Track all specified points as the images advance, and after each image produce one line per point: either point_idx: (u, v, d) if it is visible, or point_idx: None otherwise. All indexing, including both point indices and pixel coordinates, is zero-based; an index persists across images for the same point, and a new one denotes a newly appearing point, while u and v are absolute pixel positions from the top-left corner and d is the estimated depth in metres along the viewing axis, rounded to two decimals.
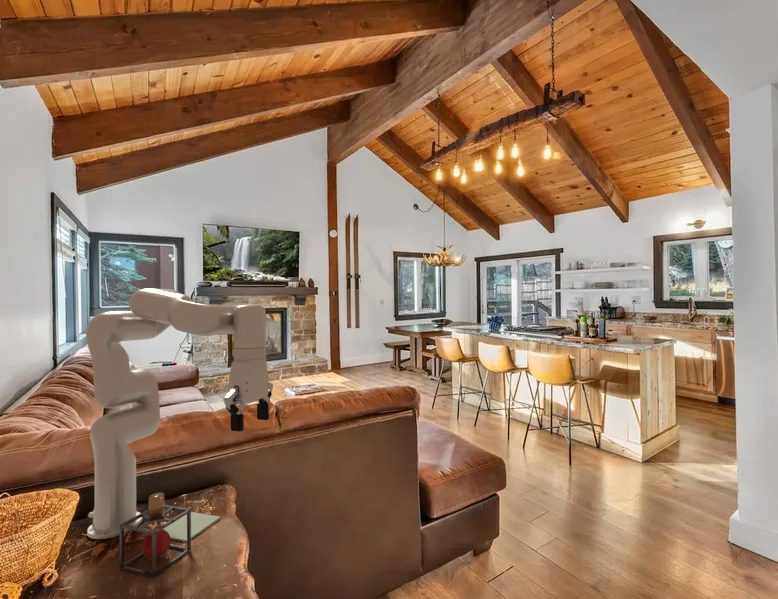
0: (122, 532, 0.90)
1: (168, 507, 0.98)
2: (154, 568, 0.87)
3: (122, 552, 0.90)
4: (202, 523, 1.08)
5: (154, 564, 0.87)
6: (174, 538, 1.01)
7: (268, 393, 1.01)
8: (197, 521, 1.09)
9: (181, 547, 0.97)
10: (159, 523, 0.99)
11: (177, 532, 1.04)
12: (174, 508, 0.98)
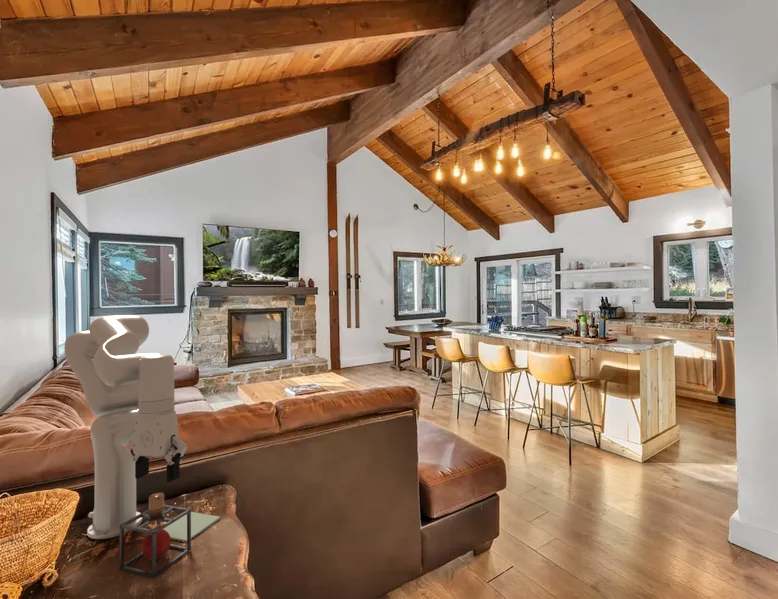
0: (122, 532, 0.90)
1: (168, 507, 0.98)
2: (154, 568, 0.87)
3: (122, 552, 0.90)
4: (202, 523, 1.08)
5: (154, 564, 0.87)
6: (174, 538, 1.01)
7: None
8: (197, 521, 1.09)
9: (181, 547, 0.97)
10: (159, 523, 0.99)
11: (177, 532, 1.04)
12: (174, 508, 0.98)
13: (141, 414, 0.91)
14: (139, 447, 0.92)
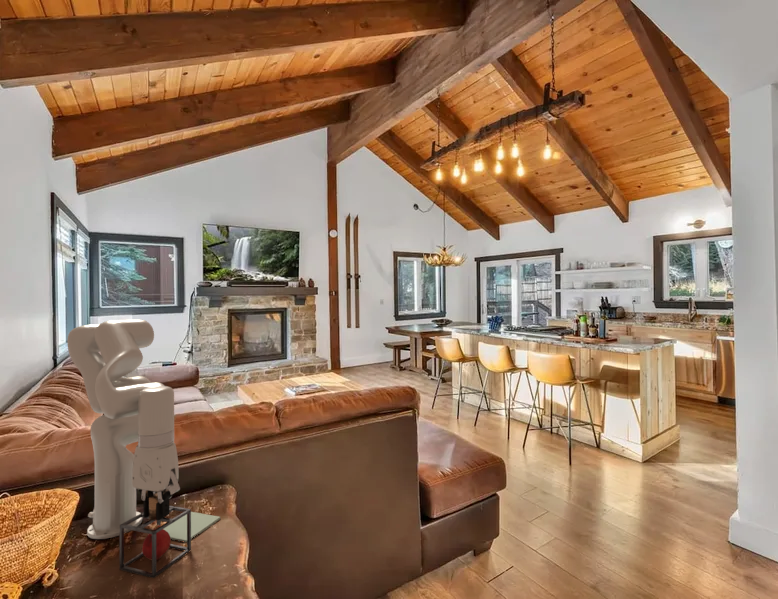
0: (122, 532, 0.90)
1: None
2: (154, 568, 0.87)
3: (122, 552, 0.90)
4: (202, 523, 1.08)
5: (154, 564, 0.87)
6: (174, 538, 1.01)
7: None
8: (197, 521, 1.09)
9: (181, 547, 0.97)
10: (159, 523, 0.99)
11: (177, 532, 1.04)
12: (174, 508, 0.98)
13: (141, 448, 0.91)
14: (138, 480, 0.92)
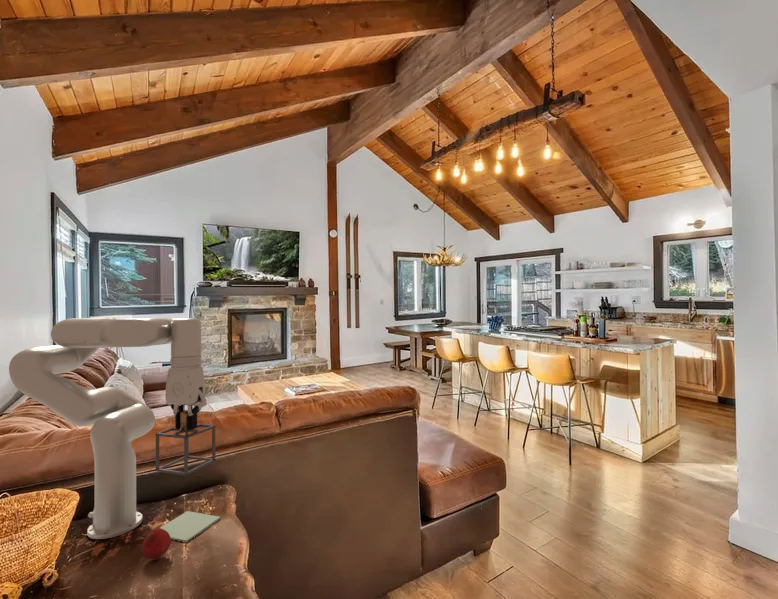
0: (158, 439, 1.05)
1: None
2: (186, 467, 1.01)
3: (158, 456, 1.05)
4: (202, 523, 1.08)
5: (186, 464, 1.01)
6: (174, 538, 1.01)
7: None
8: (197, 521, 1.09)
9: (207, 458, 1.11)
10: (187, 439, 1.14)
11: (177, 532, 1.04)
12: (200, 425, 1.12)
13: (173, 368, 1.05)
14: (171, 396, 1.06)
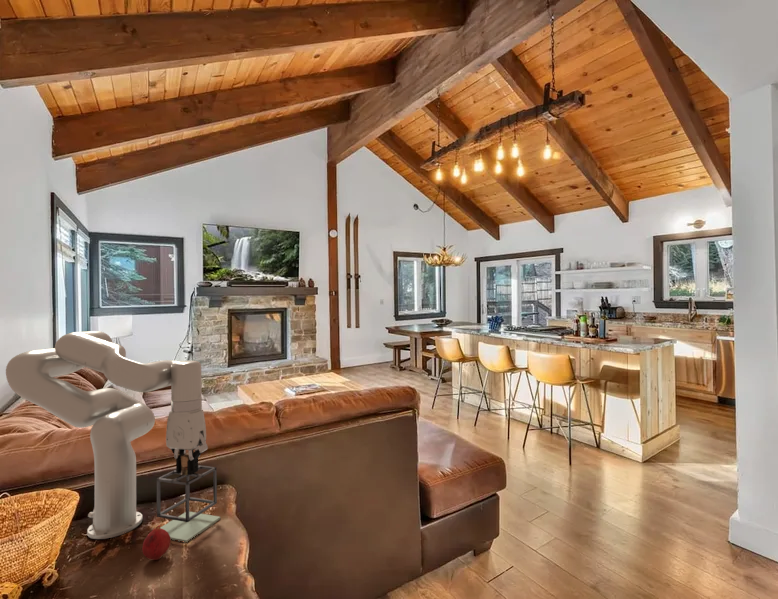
0: (159, 485, 1.04)
1: None
2: (187, 514, 1.01)
3: (159, 502, 1.04)
4: (202, 523, 1.08)
5: (187, 510, 1.01)
6: (174, 538, 1.01)
7: None
8: (197, 521, 1.09)
9: (208, 500, 1.11)
10: (188, 481, 1.14)
11: (177, 532, 1.04)
12: (201, 467, 1.12)
13: (174, 412, 1.05)
14: (172, 441, 1.06)
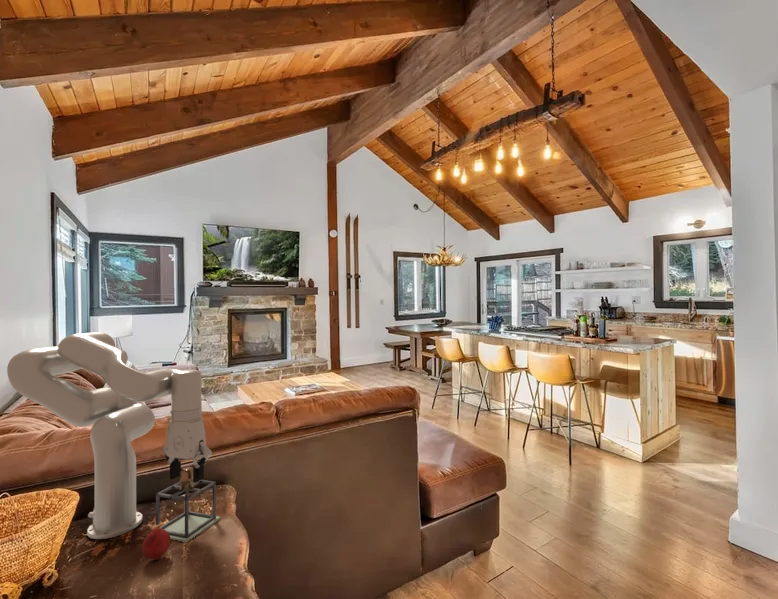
0: (158, 500, 1.04)
1: None
2: (187, 530, 1.01)
3: (158, 517, 1.04)
4: None
5: (187, 526, 1.01)
6: (174, 538, 1.01)
7: None
8: (197, 521, 1.09)
9: (207, 515, 1.11)
10: (187, 494, 1.13)
11: None
12: (201, 481, 1.12)
13: (174, 422, 1.05)
14: (171, 450, 1.06)
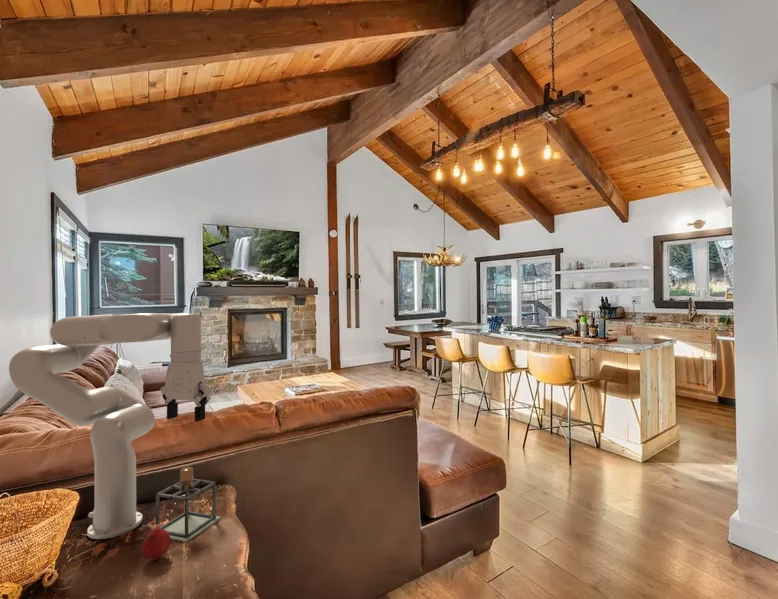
0: (158, 500, 1.04)
1: (195, 480, 1.12)
2: (187, 530, 1.01)
3: (158, 517, 1.04)
4: None
5: (187, 526, 1.01)
6: (174, 538, 1.01)
7: None
8: (197, 521, 1.09)
9: (207, 515, 1.11)
10: (187, 494, 1.13)
11: None
12: (201, 481, 1.12)
13: (173, 363, 1.05)
14: (171, 391, 1.07)
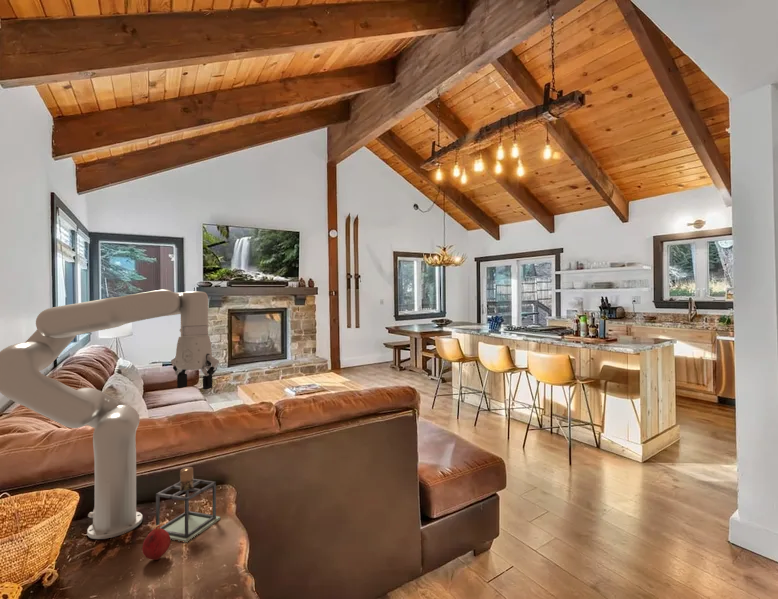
0: (158, 500, 1.04)
1: (195, 480, 1.12)
2: (187, 530, 1.01)
3: (158, 517, 1.04)
4: None
5: (187, 526, 1.01)
6: (174, 538, 1.01)
7: None
8: (197, 521, 1.09)
9: (207, 515, 1.11)
10: (187, 494, 1.13)
11: None
12: (201, 481, 1.12)
13: (183, 336, 1.15)
14: (181, 362, 1.17)
